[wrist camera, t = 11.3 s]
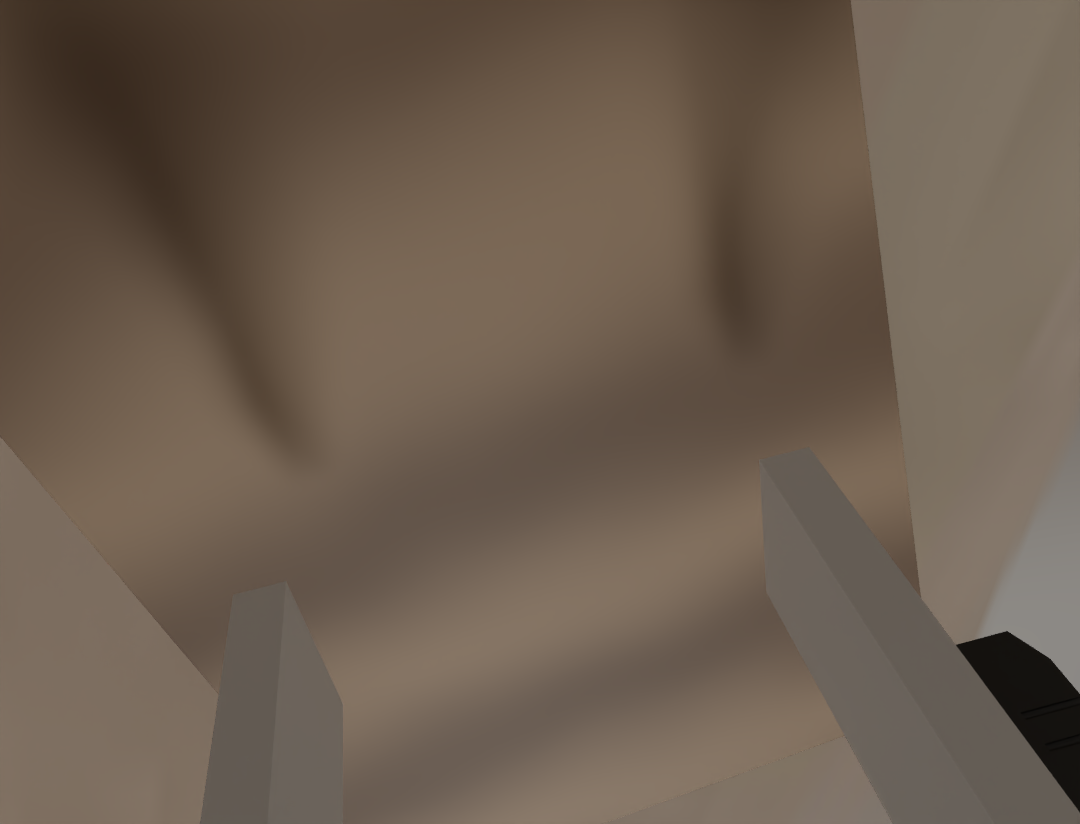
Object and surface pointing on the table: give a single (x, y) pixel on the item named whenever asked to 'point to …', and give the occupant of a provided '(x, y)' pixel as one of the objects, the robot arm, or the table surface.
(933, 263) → the table surface
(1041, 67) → the table surface
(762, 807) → the table surface
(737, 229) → the walnut base brick
